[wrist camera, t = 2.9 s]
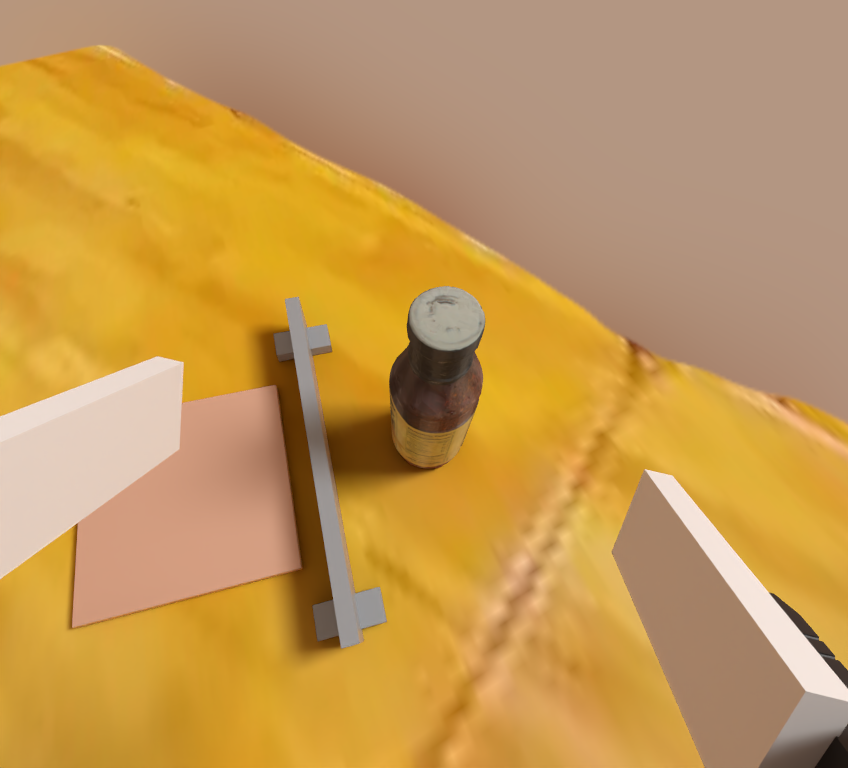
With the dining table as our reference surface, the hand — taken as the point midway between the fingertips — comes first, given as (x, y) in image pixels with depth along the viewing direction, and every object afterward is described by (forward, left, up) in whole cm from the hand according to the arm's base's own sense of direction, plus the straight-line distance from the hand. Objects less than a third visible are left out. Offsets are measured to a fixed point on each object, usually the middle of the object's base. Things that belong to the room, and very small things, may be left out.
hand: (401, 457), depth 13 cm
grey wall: (+4, -9, -27) cm, 29 cm away
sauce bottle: (-5, -9, -27) cm, 29 cm away
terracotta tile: (+15, -9, -27) cm, 32 cm away
